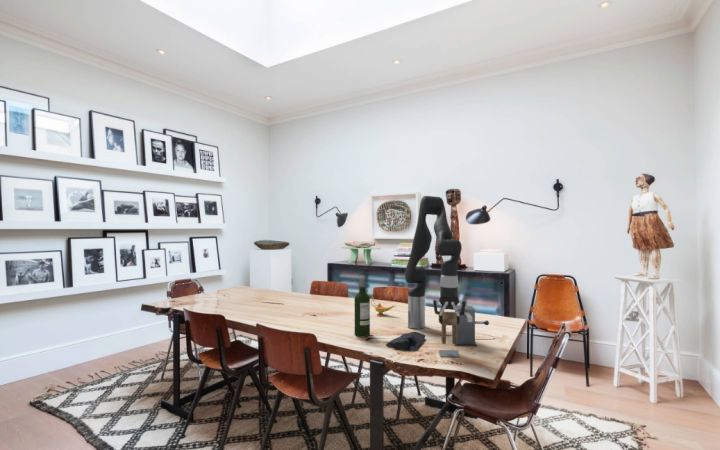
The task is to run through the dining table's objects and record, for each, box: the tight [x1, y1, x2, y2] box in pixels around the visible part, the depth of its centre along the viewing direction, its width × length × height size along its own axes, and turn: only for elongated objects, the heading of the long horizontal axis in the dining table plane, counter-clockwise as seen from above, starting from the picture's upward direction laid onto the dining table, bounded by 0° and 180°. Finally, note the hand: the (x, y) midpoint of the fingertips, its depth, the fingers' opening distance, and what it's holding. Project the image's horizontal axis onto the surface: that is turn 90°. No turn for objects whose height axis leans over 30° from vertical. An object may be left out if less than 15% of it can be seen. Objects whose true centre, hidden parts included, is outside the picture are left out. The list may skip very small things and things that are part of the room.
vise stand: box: [454, 304, 490, 347], centre depth 169 cm, size 16×19×17 cm
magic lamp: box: [370, 295, 396, 317], centre depth 229 cm, size 7×18×11 cm, turn 57°
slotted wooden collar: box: [441, 311, 457, 345], centre depth 160 cm, size 6×4×13 cm, turn 83°
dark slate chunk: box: [385, 331, 426, 352], centre depth 175 cm, size 15×22×5 cm
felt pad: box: [438, 349, 461, 359], centre depth 160 cm, size 8×8×1 cm
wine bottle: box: [354, 275, 371, 338], centre depth 189 cm, size 8×8×30 cm
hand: (449, 323), depth 160 cm, fingers closed on slotted wooden collar, 6 cm apart
